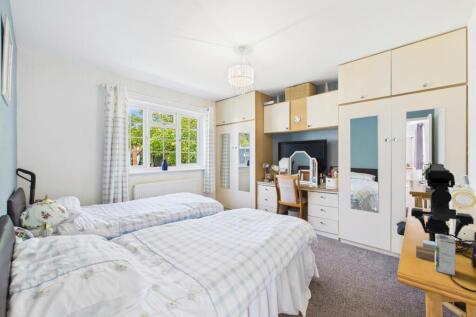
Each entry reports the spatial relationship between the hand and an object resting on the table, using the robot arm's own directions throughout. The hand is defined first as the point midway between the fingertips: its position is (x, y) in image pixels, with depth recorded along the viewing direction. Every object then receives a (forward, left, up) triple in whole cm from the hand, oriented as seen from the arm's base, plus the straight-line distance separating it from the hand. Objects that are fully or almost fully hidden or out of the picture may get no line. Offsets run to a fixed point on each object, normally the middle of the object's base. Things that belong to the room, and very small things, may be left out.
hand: (439, 235), depth 89 cm
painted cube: (-16, -3, -15) cm, 22 cm away
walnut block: (-10, -4, -15) cm, 18 cm away
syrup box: (+1, +1, -15) cm, 15 cm away
